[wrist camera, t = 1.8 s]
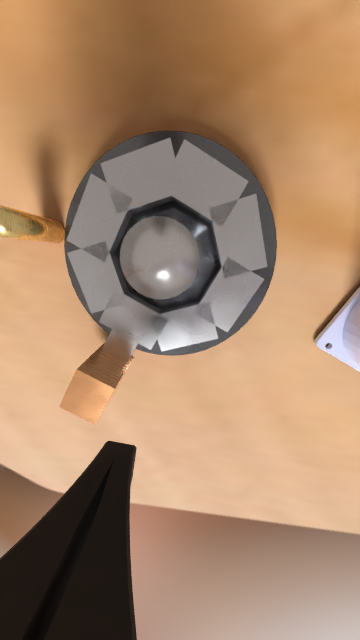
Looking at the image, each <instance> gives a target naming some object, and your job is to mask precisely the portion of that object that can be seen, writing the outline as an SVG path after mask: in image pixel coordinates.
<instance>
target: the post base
mask: <svg viewBox="0 0 360 640" xmlns="http://www.w3.org/2000/svg"><path fill="white" fill-rule="evenodd" d="M167 138H171V143H172V147H173V151H174V155H175V158H176V156H177V154H178V152H179V149H180V147H181V145H182V143H183V141H184V139H185V140H187V141H188V142H190V143H191V144H193V145H194V146H196V147H197V148H199V149H200V150H202V151H203V152H205V153H206V154H208V155H209V156H211V157H213V158H214V159H216V160H217V161H219V162H220V163H222V164H223V165H225V166H226V167H228V168H229V169H231V170H232V171H234V172H235V173H237V174H238V175H240V176H241V177H243V178H244V179H246V180H248V181H249V182H248V183H247V185H246V187H245V189H244V190H243V192H242V194H241V196H240V197H239V199H240V198H244V197H247V196H250V195H253V194H256V196H257V202H258V209H259V215H260V222H261V228H262V235H263V241H264V248H265V254H266V261H267V267H264V268H261V269H257V270H253V271H252V272H253V273H255V274H257V275H258V276H260V277H262V278H263V279H264V281H263V282H262V283H261V285H260V286H259V288H258V289H257V291H256V292H255V294H254V295H253V296H252V298H251V299H250V301H249V302H248V304H247V305H246V307H245V308H244V309H243V311H242V312H241V314H240V315H239V317H238V318H237V320H236V321H235V322H234V324H233V325H232V327H231V328H230V330H229V331H228V332H226V331H224V330H222V329H221V328H219V327H217V326H215V327H216V331H217V336H218V339H215V340H210V341H206V342H201V343H197V344H193V345H188V346H184V347H179V348H175V349H171V350H166V351H162V352H161V349H160V346H159V343H158V340H156V342H155V344H154V345H153V347H152V349H151V350H150V349H148V348H146V347H144V346H142V345H140V344H139V343H138V345H137V347H136V349H138V350H141V351H144V352H148V353H153V354H158V355H185V354H191V353H196V352H199V351H203V350H206V349H208V348H211V347H213V346H215V345H218V344H219V343H221V342H223V341H224V340H226V339H228V338H229V337H231V336H232V335H233V334H235V333H236V332H237V331H238V330H239V329H240V328H241V327H243V326H244V325H245V324H246V323H247V322H248V320H249V319H250V318H251V317H252V315H253V314H254V313H255V312H256V310H257V309H258V307H259V305H260V304H261V302H262V301H263V299H264V296H265V294H266V292H267V290H268V288H269V285H270V282H271V279H272V276H273V272H274V266H275V261H276V248H277V240H276V228H275V223H274V218H273V213H272V210H271V207H270V204H269V202H268V199H267V196H266V195H265V193H264V191H263V189H262V187H261V185H260V183H259V182H258V180H257V179H256V177H255V176H254V174H253V173H252V172H251V170H250V169H249V168H248V167H247V166H246V165H245V164H244V163H243V162H242V161H241V160H240V159H239V158H238V157H237V156H236V155H234V154H233V153H232V152H231V151H229V150H228V149H227V148H225V147H223V146H222V145H220V144H218V143H216V142H214V141H213V140H210V139H208V138H205V137H202V136H200V135H197V134H192V133H187V132H182V131H158V132H150V133H146V134H143V135H139V136H136V137H133V138H131V139H129V140H126V141H124V142H122V143H120V144H118V145H117V146H115V147H114V148H112V149H111V150H109V151H108V152H107V153H105V154H104V155H103V156H102V157H101V158H100V159H99V160H98V161H97V162H96V163H95V164H94V165H93V166H92V167H91V168H90V170H89V171H88V172H87V173H86V175H85V176H84V178H83V179H82V181H81V183H80V184H79V186H78V188H77V190H76V192H75V194H74V197H73V199H72V201H71V204H70V208H69V211H68V215H67V220H66V227H65V244H64V247H65V257H66V263H67V268H68V272H69V276H70V279H71V282H72V285H73V287H74V289H75V291H76V293H77V296H78V298H79V300H80V301H81V303H82V304H83V306H84V307H85V309H86V311H87V312H88V313H89V314H90V315H91V317H92V318H93V319H94V320H95V321H96V322H97V323H98V324H99V325H100V326H101V327H102V328H103V329H104V330H105V331H106V332H108V333H109V334H110V332H111V330H112V329H111V328H109V327H107V326H105V325H103V324H102V323H100V322H99V321H100V318H101V316H102V314H103V312H104V310H102V311H99V312H95V313H91V312H90V309H89V307H88V304H87V302H86V299H85V297H84V294H83V292H82V289H81V287H80V284H79V282H78V279H77V277H76V274H75V272H74V269H73V267H72V264H71V262H70V259H69V257H68V254H67V253H69V252H72V251H75V250H78V249H81V248H79V247H77V246H76V245H74V244H72V243H70V242H69V241H67V237H68V235H69V232H70V229H71V227H72V224H73V221H74V218H75V216H76V213H77V210H78V207H79V205H80V202H81V199H82V196H83V194H84V191H85V188H86V185H87V183H88V180H89V177H90V175H91V174H93V175H95V176H96V177H98V178H100V179H101V180H103V181H105V182H106V179H105V176H104V173H103V170H102V167H101V164H100V163H103V162H105V161H108V160H111V159H113V158H116V157H119V156H121V155H124V154H127V153H130V152H132V151H135V150H138V149H140V148H143V147H146V146H148V145H151V144H154V143H157V142H159V141H162V140H165V139H167ZM106 183H107V182H106ZM115 254H116V257H117V260H118V262H119V265H120V268H121V271H122V274H123V277H124V280H125V283H126V286H127V289H128V292H130V293H132V294H134V295H135V296H137V297H139V298H141V299H142V300H144V301H146V302H148V303H149V304H151V305H153V306H155V307H157V308H158V309H160V310H166V309H170V308H174V307H178V306H182V305H186V304H189V303H193V302H197V301H199V300H200V298H201V297H202V295H203V293H204V292H205V290H206V288H207V287H208V285H209V284H210V282H211V280H212V279H213V277H214V275H215V274H216V272H217V270H218V269H219V267H220V265H219V260H218V256H217V251H216V246H215V242H214V237H213V232H212V228H211V224H210V223H209V222H207V221H205V220H204V219H202V218H201V217H199V216H197V215H196V214H194V213H193V212H191V211H189V210H188V209H186V208H185V207H183V206H181V205H180V204H178V203H177V202H175V201H170V202H167V203H164V204H161V205H158V206H155V207H152V208H149V209H146V210H143V211H140V212H137V213H133V214H132V216H131V218H130V220H129V223H128V225H127V227H126V229H125V232H124V234H123V236H122V238H121V241H120V243H119V245H118V247H117V250H116V252H115Z"/></svg>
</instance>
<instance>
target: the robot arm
mask: <svg viewBox="0 0 360 640" xmlns="http://www.w3.org/2000/svg"><path fill="white" fill-rule="evenodd" d="M314 343H315V345H316V346H317V347H319V348H320V349H322V350H324V351H325V352H327V353H329V354H330V355H332V356H334V357H336V358H337V359H339V360H341V361H342V362H344V363H346V364H347V365H349V366H351V367H352V368H354V369H356V370H357V371H359V372H360V287H359V288H358V289H357V290H356V292H355V293H354V294H353V295H352V296H351V297H350V299H349V300H348V301H347V302H346V303H345V305H344V306H343V307H342V308H341V309H340V310H339V312H338V313H337V314H336V315H335V316H334V318H333V319H332V320H331V321H330V322H329V323H328V325H327V326H326V327H325V328H324V329H323V330H322V332H321V333H320V334H319V335H318V336H317V338H316V339H315V342H314ZM327 343H329V345H328V346H327V347H325V345H326V344H327ZM135 455H136V447H135V446H134V445H129V444H123V443H118V442H113V441H108V442H106V443H105V445H104V446H103V448H102V449H101V450H100V452H99V453H98V454H97V456H96V457H95V458H94V460H93V461H92V462H91V463H90V465H89V466H88V467H87V468H86V470H85V471H84V472H83V473H82V474H81V476H80V477H79V478H78V479H77V480H76V481H75V483H74V484H73V485H72V486H71V487H70V488H69V490H68V491H67V492H66V493H65V494H64V495H63V496H62V497H61V498H60V500H59V501H58V502H57V503H56V504H55V505H54V506H53V507H52V508H51V509H50V510H49V511H48V512H47V513H46V515H44V516H43V517H42V519H41V520H40V521H39V522H38V523H37V524H36V525H35V526H34V527H33V528H32V529H31V530H30V531H29V532H28V533H27V534H26V535H25V536H23V537H22V538H21V539H20V540H19V541H18V542H17V543H16V544H15V545H14V546H13V547H12V548H11V549H10V550H9V551H8V552H7V553H6V554H5V555H3V556H2V557H1V558H0V640H137V639H136V627H135V615H134V606H133V605H134V604H133V592H132V578H131V560H130V531H129V530H130V525H129V509H130V485H131V481H132V476H133V469H134V462H135Z"/></svg>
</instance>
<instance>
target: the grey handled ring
mask: <svg viewBox="0 0 360 640" xmlns="http://www.w3.org/2000/svg"><path fill="white" fill-rule="evenodd" d="M100 164H101V167H102V170H103V173H104V176H105V179H106V182H107V183H106V182H105V181H103V180H101V179H100V178H98V177H96V176H95V175H93V174H91V175H90V177H89V180H88V183H87V185H86V188H85V191H84V194H83V196H82V199H81V202H80V205H79V207H78V210H77V213H76V216H75V218H74V221H73V224H72V227H71V229H70V232H69V235H68V237H67V241H69V242H70V243H72V244H74V245H76V246H77V247H79V248H81V249H78V250H75V251H72V252H69V253H67V254H68V257H69V259H70V262H71V264H72V267H73V269H74V272H75V274H76V277H77V279H78V282H79V284H80V287H81V289H82V292H83V294H84V297H85V299H86V302H87V304H88V307H89V309H90V312H91V313H95V312H99V311H102V310H104V312H103V314H102V316H101V318H100V321H99V322H100V323H102V324H103V325H105V326H107V327H109V328H111V329H112V330H111V332H110V334H109V336H108V338H107V340H106V342H105V343H104V344H103V345H102V346H101V347H100V348H99V349H98V350H97V351H95V352H94V353H93V354H92V355H91V356H90V357H89V358H88V359H87V360H86V361H85V362H84V363H83V364H82V365H81V366H80V367H79V368H78V369H77V370H76V372H75V374H74V376H73V378H72V381H71V383H70V385H69V387H68V389H67V391H66V393H65V395H64V398H63V400H62V402H61V404H60V406H59V407H61V408H63V409H65V410H67V411H69V412H71V413H73V414H75V415H77V416H79V417H81V418H83V419H85V420H87V421H89V422H91V423H93V424H96V422H97V420H98V419H99V417H100V415H101V414H102V412H103V410H104V408H105V407H106V405H107V403H108V402H109V400H110V398H111V397H112V395H113V393H114V392H115V390H116V388H117V386H118V385H119V383H120V381H121V379H122V378H123V376H124V374H125V372H126V370H127V369H128V367H129V365H130V363H131V361H132V360H133V358H134V357H133V356H132V354H133V352H134V351H135V349H136V347H137V345H138V343H139V344H140V345H142V346H144V347H146V348H148V349H150V350H151V349H152V347H153V345H154V344H155V342H156V340H158V343H159V346H160V349H161V352H162V351H166V350H171V349H175V348H179V347H184V346H188V345H193V344H197V343H201V342H206V341H210V340H215V339H218V336H217V331H216V327H215V326H217V327H219V328H221V329H222V330H224V331H226V332H228V331H229V330H230V328H231V327H232V325H233V324H234V322H235V321H236V320H237V318H238V317H239V315H240V314H241V312H242V311H243V309H244V308H245V307H246V305H247V304H248V302H249V301H250V299H251V298H252V296H253V295H254V294H255V292H256V291H257V289H258V288H259V286H260V285H261V283H262V282H263V281H264V279H263V278H262V277H260V276H258V275H257V274H255V273H253V272H252V271H253V270H257V269H261V268H264V267H267V261H266V254H265V248H264V241H263V235H262V228H261V222H260V215H259V209H258V202H257V196H256V194H253V195H250V196H247V197H244V198H240V199H239V197H240V196H241V194H242V192H243V190H244V189H245V187H246V185H247V183H248V182H249V181H248V180H246V179H244V178H243V177H241V176H240V175H238V174H237V173H235V172H234V171H232V170H231V169H229V168H228V167H226V166H225V165H223V164H222V163H220V162H219V161H217V160H216V159H214V158H213V157H211V156H209V155H208V154H206V153H205V152H203V151H202V150H200V149H199V148H197V147H196V146H194V145H193V144H191V143H190V142H188V141H187V140H185V139H184V141H183V143H182V145H181V147H180V149H179V152H178V154H177V156H176V158H175V155H174V151H173V147H172V143H171V138H167V139H165V140H162V141H159V142H157V143H154V144H151V145H148V146H146V147H143V148H140V149H138V150H135V151H132V152H130V153H127V154H124V155H121V156H119V157H116V158H113V159H111V160H108V161H105V162H103V163H100ZM170 201H175V202H177V203H178V204H180V205H181V206H183V207H185V208H186V209H188V210H189V211H191V212H193V213H194V214H196V215H197V216H199V217H201V218H202V219H204V220H205V221H207V222H209V223H210V224H211V228H212V232H213V237H214V242H215V246H216V251H217V256H218V260H219V265H220V267H219V269H218V270H217V272H216V274H215V275H214V277H213V279H212V280H211V282H210V284H209V285H208V287H207V288H206V290H205V292H204V293H203V295H202V297H201V298H200V300H199V301H197V302H193V303H189V304H186V305H182V306H178V307H174V308H170V309H166V310H160V309H158V308H157V307H155V306H153V305H151V304H149V303H148V302H146V301H144V300H142V299H141V298H139V297H137V296H135V295H134V294H132V293H130V292H128V289H127V286H126V283H125V280H124V277H123V274H122V271H121V268H120V265H119V262H118V260H117V257H116V254H115V252H116V250H117V247H118V245H119V243H120V241H121V238H122V236H123V234H124V232H125V229H126V227H127V225H128V223H129V220H130V218H131V216H132V214H133V213H137V212H140V211H143V210H146V209H149V208H152V207H155V206H158V205H161V204H164V203H167V202H170Z"/></svg>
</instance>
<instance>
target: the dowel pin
mask: <svg viewBox="0 0 360 640" xmlns="http://www.w3.org/2000/svg"><path fill="white" fill-rule="evenodd" d="M0 237H5V238H14V239H23V240H32V241H42V242H51V243H60V242H61V241H63V239H64V237H65V230H64V227H63V226H62V224H61V223H60V222H58V221H56V220H52V219H48V218H45V217H41V216H37V215H34V214H30V213H26V212H23V211H19V210H15V209H12V208H8V207H4V206H1V205H0Z"/></svg>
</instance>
